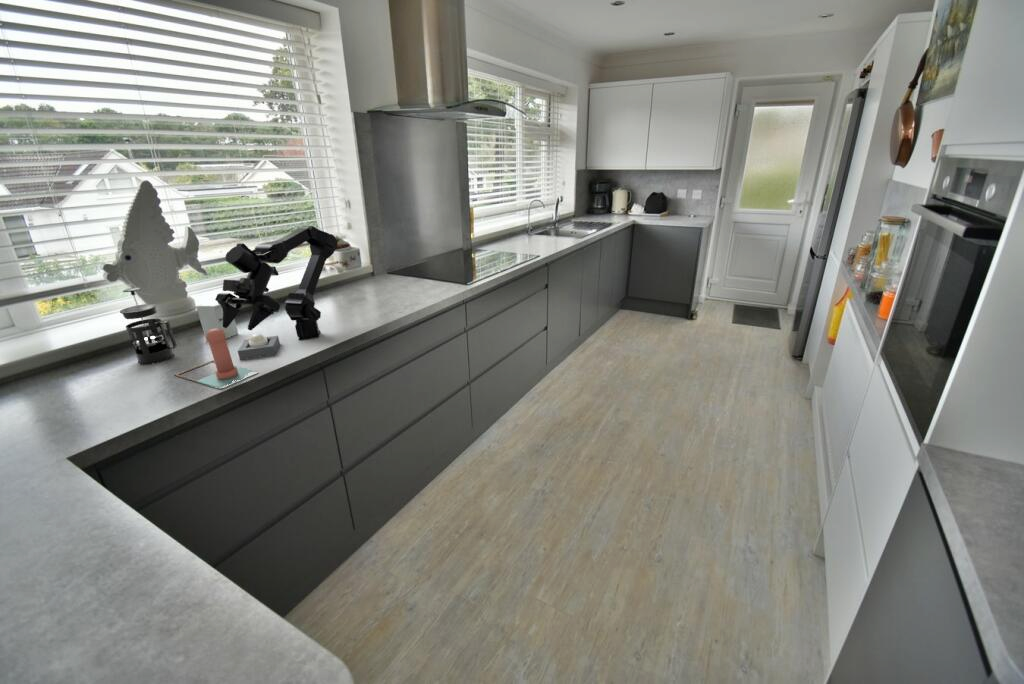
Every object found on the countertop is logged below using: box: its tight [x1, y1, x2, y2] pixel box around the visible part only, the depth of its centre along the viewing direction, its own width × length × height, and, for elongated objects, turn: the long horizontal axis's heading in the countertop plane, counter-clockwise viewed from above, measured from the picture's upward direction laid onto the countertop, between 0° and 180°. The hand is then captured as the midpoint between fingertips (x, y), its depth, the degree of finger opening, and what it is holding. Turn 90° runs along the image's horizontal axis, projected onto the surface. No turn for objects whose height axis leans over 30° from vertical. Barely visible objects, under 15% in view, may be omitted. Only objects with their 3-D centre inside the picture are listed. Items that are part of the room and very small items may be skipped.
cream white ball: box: [249, 333, 268, 347], centre depth 146 cm, size 5×5×5 cm
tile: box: [196, 365, 256, 388], centre depth 130 cm, size 11×11×1 cm
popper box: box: [237, 335, 281, 360], centre depth 147 cm, size 10×10×3 cm
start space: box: [174, 359, 215, 383], centre depth 135 cm, size 11×11×1 cm
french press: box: [119, 287, 178, 365], centre depth 141 cm, size 12×9×23 cm
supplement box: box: [195, 299, 239, 341], centre depth 160 cm, size 7×7×13 cm
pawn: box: [205, 329, 238, 380], centre depth 127 cm, size 5×5×14 cm
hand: (236, 328), depth 131 cm, fingers open, 9 cm apart
